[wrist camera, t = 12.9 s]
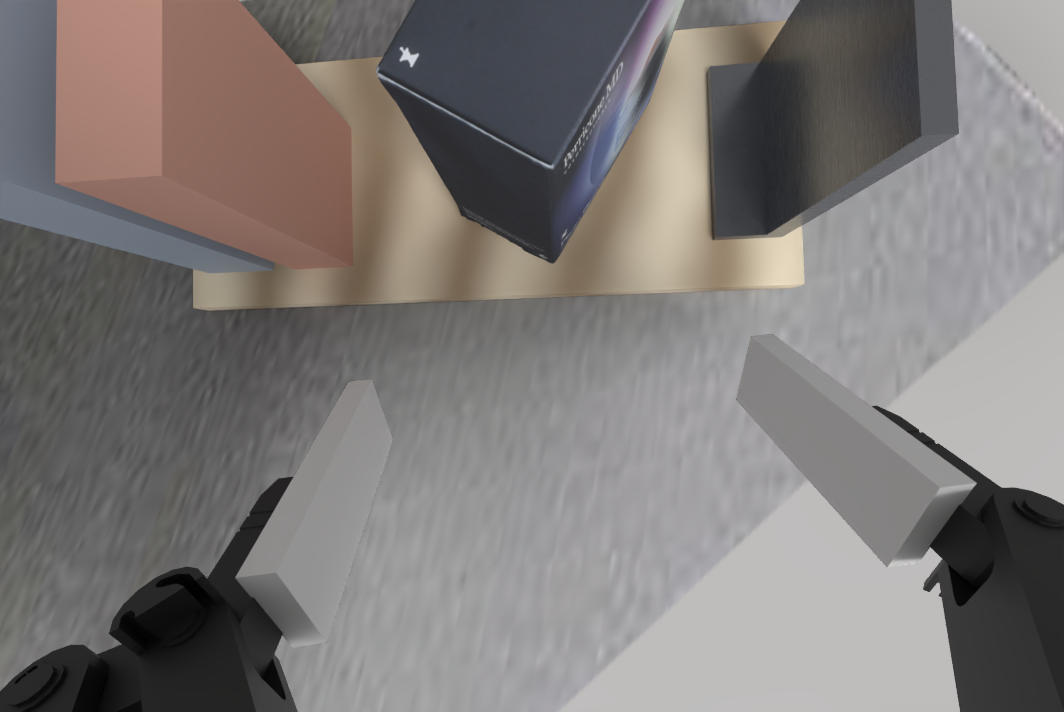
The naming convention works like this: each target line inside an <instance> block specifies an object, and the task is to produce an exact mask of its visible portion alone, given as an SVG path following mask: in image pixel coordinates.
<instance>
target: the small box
mask: <svg viewBox="0 0 1064 712" xmlns="http://www.w3.org/2000/svg"><path fill="white" fill-rule="evenodd" d="M684 1H685V0H415V2H414V3H413V5H412V7H411V9H410V10H409V12H408V14H407V16H406V17H405V19H404V21H403V23H402V24H401V26H400V28H399V30H398V31H397V33H396V35H395V37H394V38H393V40H392V42H391V44H390V46H389V47H388V49H387V51H386V53H385V54H384V56H383V58H382V59H381V61H380V63H379V64H378V66H377V68H376V72H377V76H378V79H379V80H380V82H381V84H382V85H383V86H384V88H385V89H386V90H387V92H388V93H389V94H390V96H391V97H392V98H393V100H394V101H395V102H396V103H397V105H398V107H399V108H400V110H401V111H402V113H403V115H404V117H405V118H406V120H407V121H408V123H409V125H410V127H411V128H412V130H413V132H414V133H415V135H416V137H417V138H418V140H419V142H420V144H421V145H422V147H423V149H424V150H425V152H426V154H427V155H428V157H429V159H430V160H431V162H432V164H433V165H434V167H435V169H436V171H437V172H438V174H439V176H440V178H441V179H442V181H443V183H444V184H445V186H446V188H447V189H448V190H449V192H450V194H451V196H452V197H453V199H454V201H455V202H456V204H457V206H458V209H459V212H460V214H461V216H463V217H466V219H468V220H470V221H473V222H477V223H479V224H480V225H481V226H482V227H485V228H487V229H489V230H491V231H493V232H495V233H496V234H497V235H500V236H502V237H503V238H505V239H507V240H508V241H510V242H511V243H514V244H516V245H517V246H519V247H521V248H522V249H523V250H524V251H525V252H528V253H529V254H532V255H534V256H536V257H538V258H541V259H543V260H545V261H547V262H549V263H552V264H553V263H555V262H556V261H557V259H558V258H559V256H560V255H561V253H562V251H563V249H564V248H565V246H566V244H567V242H568V241H569V239H570V237H571V236H572V234H573V232H574V230H575V229H576V227H577V225H578V224H579V222H580V220H581V219H582V217H583V215H584V214H585V212H586V210H587V208H588V207H589V205H590V203H591V202H592V200H593V198H594V197H595V195H596V193H597V191H598V190H599V188H600V186H601V185H602V183H603V181H604V179H605V178H606V176H607V174H608V173H609V171H610V169H611V167H612V166H613V164H614V162H615V161H616V159H617V157H618V156H619V154H620V152H621V150H622V149H623V147H624V145H625V144H626V142H627V140H628V138H629V136H630V135H631V133H632V131H633V130H634V128H635V126H636V124H637V123H638V121H639V119H640V117H641V116H642V114H643V112H644V110H645V109H646V107H647V105H648V103H649V101H650V99H651V96H652V93H653V90H654V88H655V85H656V82H657V79H658V76H659V73H660V70H661V67H662V64H663V61H664V58H665V55H666V53H667V50H668V47H669V44H670V41H671V39H672V35H673V32H674V29H675V26H676V24H677V21H678V18H679V15H680V12H681V9H682V6H683V4H684Z"/></svg>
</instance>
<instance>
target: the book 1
mask: <svg viewBox="0 0 1064 712" xmlns="http://www.w3.org/2000/svg"><path fill="white" fill-rule="evenodd" d="M56 53H57V0H0V219H4V220H8V221H11V222H15V223H19V224H23V225H27V226H30V227H34V228H38V229H42V230H46V231H50V232H53V233H57V234H61V235H65V236H69V237H72V238H76V239H80V240H84V241H88V242H91V243H95V244H99V245H103V246H107V247H110V248H114V249H118V250H122V251H126V252H130V253H133V254H137V255H141V256H145V257H149V258H152V259H156V260H160V261H164V262H168V263H171V264H175V265H179V266H183V267H187V268H190V269H194V270H198V271H202V272H206V273H228V272H249V271H271V270H274V262H273V261H270V260H267V259H264V258H261V257H259V256H256V255H253V254H250V253H248V252H245V251H242V250H239V249H237V248H234V247H231V246H228V245H225V244H223V243H220V242H217V241H214V240H212V239H209V238H206V237H203V236H201V235H198V234H195V233H192V232H189V231H187V230H184V229H181V228H178V227H176V226H173V225H170V224H167V223H165V222H162V221H159V220H156V219H153V218H151V217H148V216H145V215H142V214H140V213H137V212H134V211H131V210H129V209H126V208H123V207H120V206H117V205H115V204H112V203H109V202H106V201H104V200H101V199H98V198H95V197H93V196H90V195H87V194H84V193H82V192H79V191H76V190H73V189H70V188H68V187H65V186H62V185H59V184H57V183H55V158H56Z"/></svg>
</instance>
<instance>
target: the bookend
mask: <svg viewBox="0 0 1064 712" xmlns="http://www.w3.org/2000/svg"><path fill="white" fill-rule="evenodd" d="M706 79H707V105H708V131H709V157H710V183H711V209H712V235H713V240H732V239H753V238H774V237H783V236H785V235H787V234H788V233H790V232H792V231H793V230H795V229H797V228H798V227H800V226H802V225H804V224H805V223H807V222H809V221H810V220H812V219H814V218H816V217H817V216H819V215H821V214H822V213H824V212H826V211H827V210H829V209H831V208H833V207H834V206H836V205H838V204H839V203H841V202H843V201H845V200H846V199H848V198H850V197H851V196H853V195H855V194H856V193H858V192H860V191H862V190H863V189H865V188H867V187H868V186H870V185H872V184H874V183H875V182H877V181H879V180H880V179H882V178H884V177H885V176H887V175H889V174H891V173H892V172H894V171H896V170H897V169H899V168H901V167H903V166H904V165H906V164H908V163H909V162H911V161H913V160H914V159H916V158H918V157H920V156H921V155H923V154H925V153H926V152H928V151H930V150H932V149H933V148H935V147H937V146H938V145H940V144H942V143H943V142H945V141H947V140H949V139H950V138H952V137H954V136H955V135H957V134H959V127H958V109H957V92H956V74H955V57H954V39H953V22H952V5H951V0H800V1H799V3H798V4H797V6H796V7H795V9H794V10H793V12H792V13H791V15H790V17H789V18H788V20H787V21H786V23H785V24H784V26H783V27H782V29H781V30H780V32H779V33H778V35H777V37H776V38H775V40H774V41H773V43H772V44H771V46H770V47H769V49H768V50H767V52H766V53H765V55H764V56H763V58H762V60H761V61H760V62H756V63H744V64H731V65H719V66H710V67H709V69H708V71H707V73H706Z"/></svg>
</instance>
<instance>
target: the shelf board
mask: <svg viewBox="0 0 1064 712" xmlns="http://www.w3.org/2000/svg"><path fill="white" fill-rule="evenodd" d="M785 23H786V21H775V22H764V23H753V24H742V25H731V26H720V27H708V28H697V29H686V30H675V31H674V32H673V35H672V39H671V41H670V44H669V47H668V50H667V53H666V55H665V58H664V61H663V64H662V67H661V70H660V73H659V76H658V79H657V82H656V85H655V88H654V90H653V93H652V96H651V99H650V101H649V103H648V105H647V107H646V109H645V110H644V112H643V114H642V116H641V117H640V119H639V121H638V123H637V124H636V126H635V128H634V130H633V131H632V133H631V135H630V136H629V138H628V140H627V142H626V144H625V145H624V147H623V149H622V150H621V152H620V154H619V156H618V157H617V159H616V161H615V162H614V164H613V166H612V167H611V169H610V171H609V173H608V174H607V176H606V178H605V179H604V181H603V183H602V185H601V186H600V188H599V190H598V191H597V193H596V195H595V197H594V198H593V200H592V202H591V203H590V205H589V207H588V208H587V210H586V212H585V214H584V215H583V217H582V219H581V220H580V222H579V224H578V225H577V227H576V229H575V230H574V232H573V234H572V236H571V237H570V239H569V241H568V242H567V244H566V246H565V248H564V249H563V251H562V253H561V255H560V256H559V258H558V259H557V261H556V262H555V263H553V264H552V263H549V262H547V261H545V260H543V259H541V258H538V257H536V256H534V255H532V254H529V253H528V252H525V251H524V250H523V249H522V248H521V247H519V246H517V245H516V244H514V243H511V242H510V241H508V240H507V239H505V238H503V237H502V236H500V235H497V234H496V233H495V232H493V231H491V230H489V229H487V228H485V227H482V226H481V225H480V224H479V223H477V222H473V221H470V220H468V219H466V217H463V216H461V214H460V212H459V209H458V206H457V204H456V202H455V201H454V199H453V197H452V196H451V194H450V192H449V190H448V189H447V188H446V186H445V184H444V183H443V181H442V179H441V178H440V176H439V174H438V172H437V171H436V169H435V167H434V165H433V164H432V162H431V160H430V159H429V157H428V155H427V154H426V152H425V150H424V149H423V147H422V145H421V144H420V142H419V140H418V138H417V137H416V135H415V133H414V132H413V130H412V128H411V127H410V125H409V123H408V121H407V120H406V118H405V117H404V115H403V113H402V111H401V110H400V108H399V107H398V105H397V103H396V102H395V101H394V100H393V98H392V97H391V96H390V94H389V93H388V92H387V90H386V89H385V88H384V86H383V85H382V84H381V82H380V80H379V79H378V76H377V72H376V68H377V66H378V64H379V63H380V61H381V59H382V58H383V57H373V58H362V59H351V60H340V61H329V62H318V63H306V64H295V65H296V66H297V67H298V68H299V69H300V70H301V71H302V73H303V74H304V75H305V76H306V77H307V78H308V79H309V81H310V82H311V83H312V84H313V85H314V86H315V87H316V88H317V90H318V91H319V92H320V93H321V94H322V95H323V96H324V97H325V99H326V100H327V101H328V102H329V103H330V104H331V105H332V107H333V108H334V109H335V110H336V111H337V112H338V113H339V114H340V116H341V117H342V118H343V119H344V120H345V121H346V122H347V123H348V125H349V126H350V127H351V137H352V219H353V267H335V268H314V269H292V268H289V267H286V266H284V265H281V264H278V263H275V262H274V270H271V271H249V272H228V273H206V272H202V271H198V270H194V269H193V308H196V309H202V310H208V311H211V310H236V309H262V308H288V307H314V306H339V305H365V304H391V303H417V302H443V301H468V300H494V299H520V298H546V297H572V296H597V295H623V294H649V293H675V292H700V291H726V290H752V289H778V288H794V287H797V286H800V285H803V284H804V264H803V241H802V226H800V227H798V228H797V229H795V230H793V231H792V232H790V233H788V234H787V235H785V236H783V237H774V238H753V239H732V240H713V235H712V209H711V183H710V157H709V131H708V105H707V79H706V73H707V71H708V69H709V67H710V66H719V65H731V64H744V63H756V62H760V61H761V60H762V58H763V56H764V55H765V53H766V52H767V50H768V49H769V47H770V46H771V44H772V43H773V41H774V40H775V38H776V37H777V35H778V33H779V32H780V30H781V29H782V27H783V26H784V24H785Z"/></svg>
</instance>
